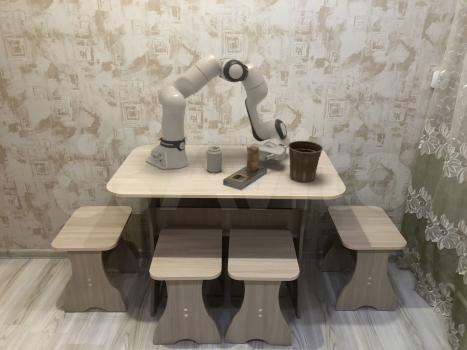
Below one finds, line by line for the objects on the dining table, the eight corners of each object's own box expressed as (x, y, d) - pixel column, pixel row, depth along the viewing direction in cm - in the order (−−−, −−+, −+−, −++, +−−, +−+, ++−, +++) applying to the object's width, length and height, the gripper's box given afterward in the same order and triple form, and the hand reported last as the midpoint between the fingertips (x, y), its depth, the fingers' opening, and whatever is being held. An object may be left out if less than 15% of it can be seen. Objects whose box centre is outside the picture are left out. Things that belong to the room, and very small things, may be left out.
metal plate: (223, 184, 183) (223, 179, 182) (249, 168, 202) (250, 163, 201) (241, 189, 178) (241, 184, 177) (266, 172, 197) (267, 167, 196)
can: (223, 168, 201) (224, 146, 196) (218, 174, 194) (218, 151, 189) (210, 166, 203) (210, 144, 198) (204, 172, 196) (204, 149, 191)
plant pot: (324, 183, 186) (328, 151, 180) (291, 185, 184) (293, 153, 177) (312, 170, 201) (316, 140, 194) (282, 171, 199) (284, 141, 192)
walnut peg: (246, 174, 194) (247, 147, 189) (250, 172, 197) (251, 145, 192) (253, 176, 192) (254, 149, 187) (257, 173, 195) (258, 147, 190)
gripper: (254, 139, 211) (240, 145, 200) (289, 146, 200) (276, 154, 190) (254, 150, 213) (240, 157, 202) (288, 158, 203) (275, 166, 192)
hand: (258, 156), depth 196 cm, fingers open, 8 cm apart
